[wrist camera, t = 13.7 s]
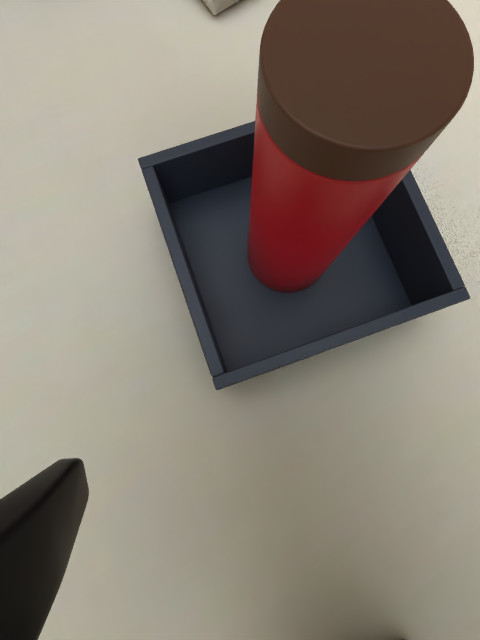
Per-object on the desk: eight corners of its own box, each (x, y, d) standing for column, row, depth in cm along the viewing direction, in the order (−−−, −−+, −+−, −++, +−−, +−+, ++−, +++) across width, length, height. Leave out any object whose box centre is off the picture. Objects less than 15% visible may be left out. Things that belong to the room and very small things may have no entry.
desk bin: (418, 315, 20) (471, 298, 15) (221, 386, 19) (216, 390, 15) (342, 144, 22) (370, 83, 17) (159, 204, 21) (137, 158, 16)
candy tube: (338, 277, 19) (513, 110, 7) (263, 303, 19) (305, 178, 7) (310, 206, 20) (422, -60, 8) (236, 230, 20) (230, -5, 7)
